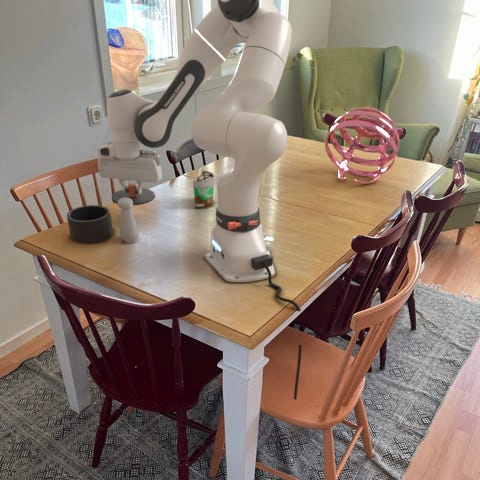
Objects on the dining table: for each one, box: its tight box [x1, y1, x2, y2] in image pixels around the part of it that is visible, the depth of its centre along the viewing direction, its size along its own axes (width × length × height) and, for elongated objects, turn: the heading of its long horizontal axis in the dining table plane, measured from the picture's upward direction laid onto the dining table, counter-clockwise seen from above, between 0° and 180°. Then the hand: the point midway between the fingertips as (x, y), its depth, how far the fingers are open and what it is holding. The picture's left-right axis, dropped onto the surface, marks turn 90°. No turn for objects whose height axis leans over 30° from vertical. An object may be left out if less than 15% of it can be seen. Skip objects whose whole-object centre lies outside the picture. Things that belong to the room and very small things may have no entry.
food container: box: [192, 169, 217, 209], centre depth 166 cm, size 12×6×10 cm, turn 168°
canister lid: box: [111, 183, 156, 206], centre depth 153 cm, size 14×14×5 cm
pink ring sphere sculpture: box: [324, 107, 401, 186], centre depth 184 cm, size 28×28×27 cm
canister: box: [66, 204, 114, 244], centre depth 147 cm, size 13×13×7 cm
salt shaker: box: [117, 198, 140, 244], centre depth 142 cm, size 6×6×13 cm
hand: (132, 192), depth 153 cm, fingers closed on canister lid, 2 cm apart
